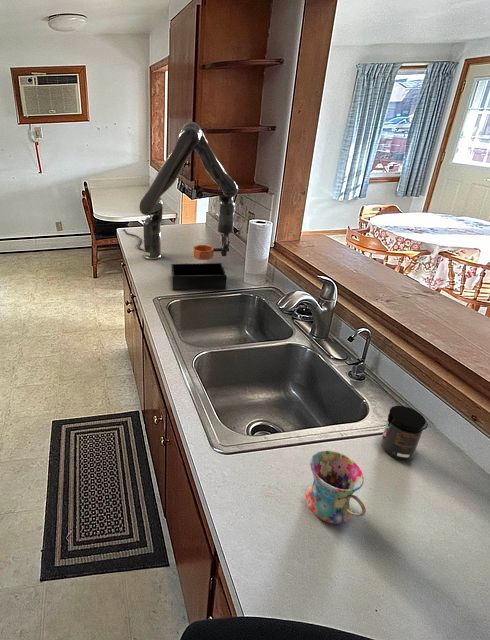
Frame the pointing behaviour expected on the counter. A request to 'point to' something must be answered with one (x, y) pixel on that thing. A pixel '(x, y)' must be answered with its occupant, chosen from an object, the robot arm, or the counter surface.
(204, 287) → the black storage tray
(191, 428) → the counter surface
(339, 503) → the mug
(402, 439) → the supplement container
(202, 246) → the pan
